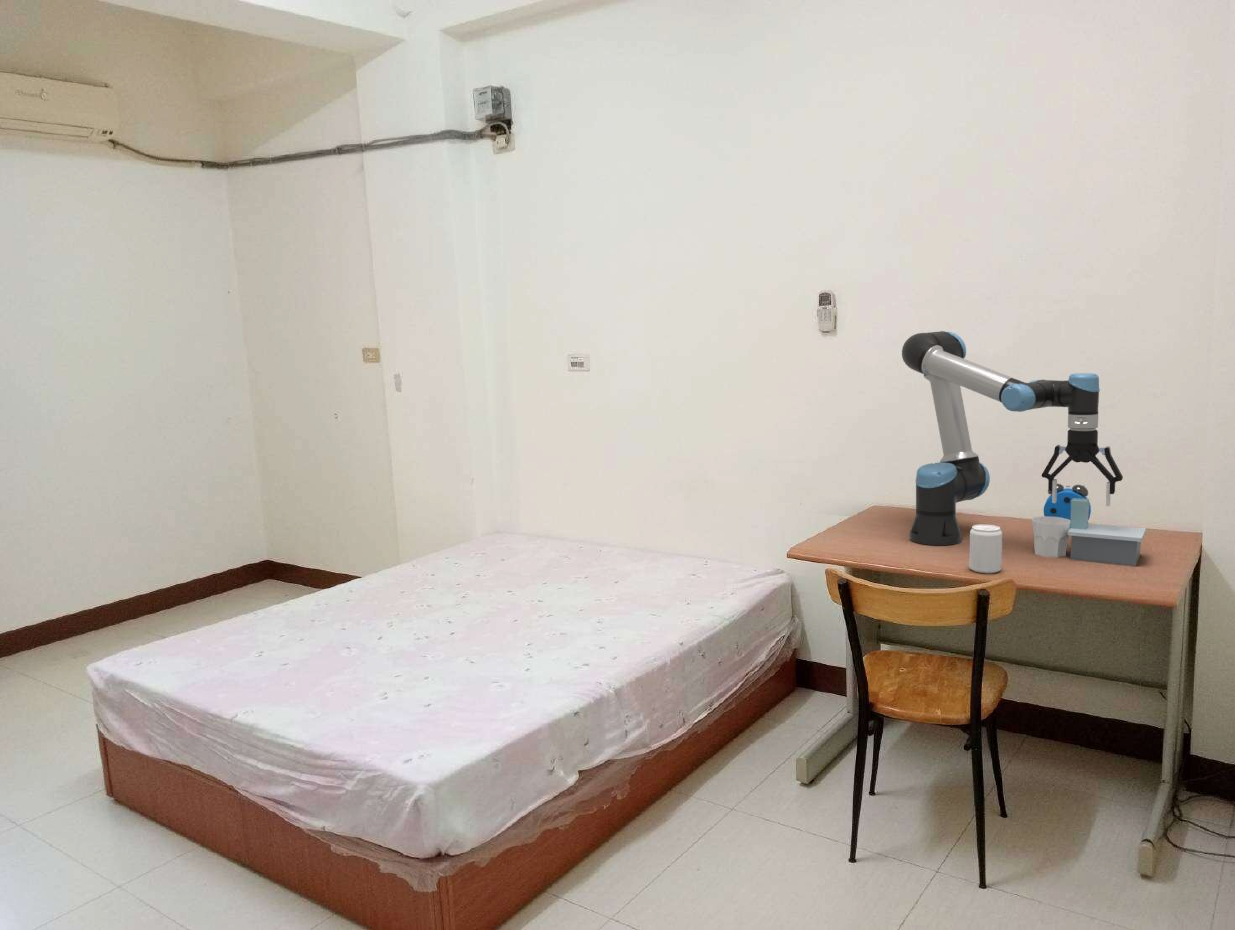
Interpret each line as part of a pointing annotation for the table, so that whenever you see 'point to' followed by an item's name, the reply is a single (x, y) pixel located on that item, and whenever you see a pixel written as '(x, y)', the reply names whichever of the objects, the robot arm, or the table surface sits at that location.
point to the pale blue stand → (1099, 525)
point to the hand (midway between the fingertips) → (1080, 503)
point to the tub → (1105, 550)
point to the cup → (1050, 536)
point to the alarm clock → (1064, 501)
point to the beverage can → (985, 548)
